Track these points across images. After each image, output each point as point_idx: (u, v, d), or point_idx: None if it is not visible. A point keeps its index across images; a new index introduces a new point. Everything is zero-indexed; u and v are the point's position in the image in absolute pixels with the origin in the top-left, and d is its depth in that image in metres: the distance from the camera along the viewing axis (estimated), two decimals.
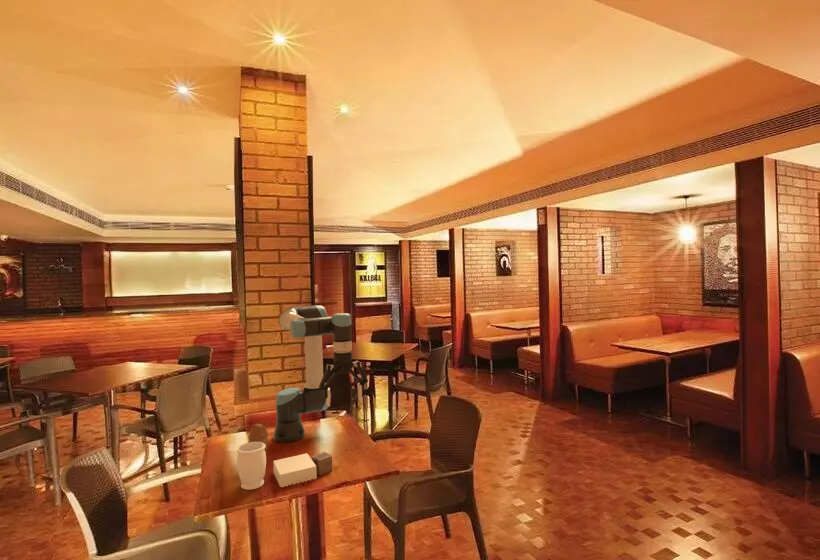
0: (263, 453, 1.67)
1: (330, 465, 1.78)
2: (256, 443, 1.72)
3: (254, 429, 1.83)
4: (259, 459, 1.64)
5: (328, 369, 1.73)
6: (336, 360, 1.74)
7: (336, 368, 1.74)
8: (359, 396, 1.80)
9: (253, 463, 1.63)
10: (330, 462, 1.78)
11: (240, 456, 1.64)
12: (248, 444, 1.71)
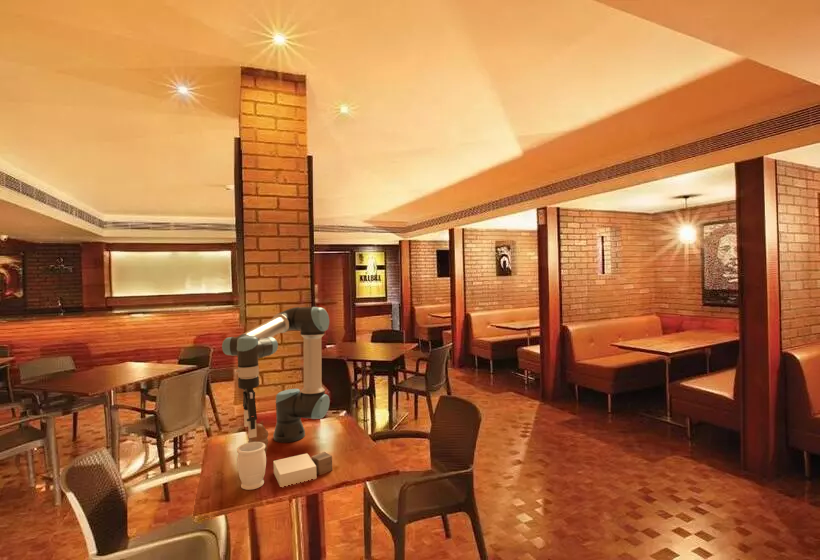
0: (263, 453, 1.67)
1: (330, 465, 1.78)
2: (256, 443, 1.72)
3: None
4: (259, 459, 1.64)
5: (243, 389, 1.72)
6: None
7: None
8: None
9: (253, 463, 1.63)
10: (330, 462, 1.78)
11: (240, 456, 1.64)
12: (248, 444, 1.71)
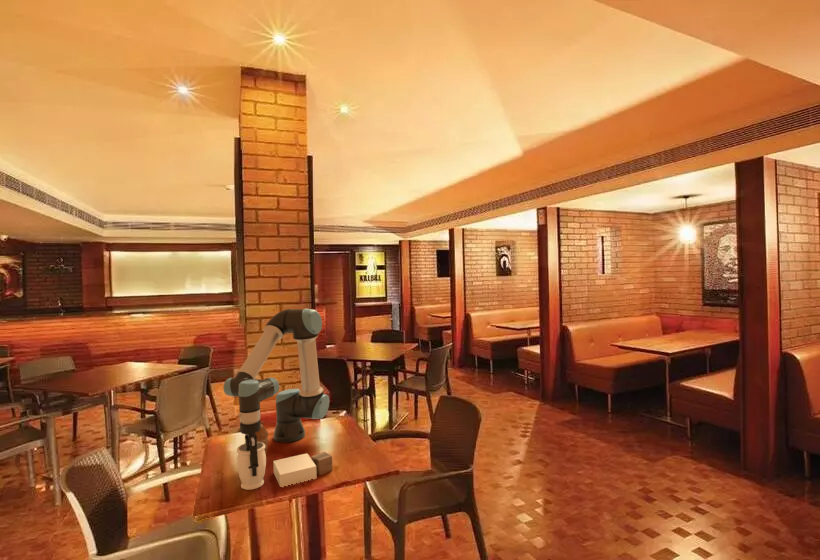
0: (263, 453, 1.67)
1: (330, 465, 1.78)
2: None
3: None
4: (259, 459, 1.64)
5: (245, 434, 1.72)
6: None
7: None
8: None
9: None
10: (330, 462, 1.78)
11: (240, 456, 1.64)
12: None
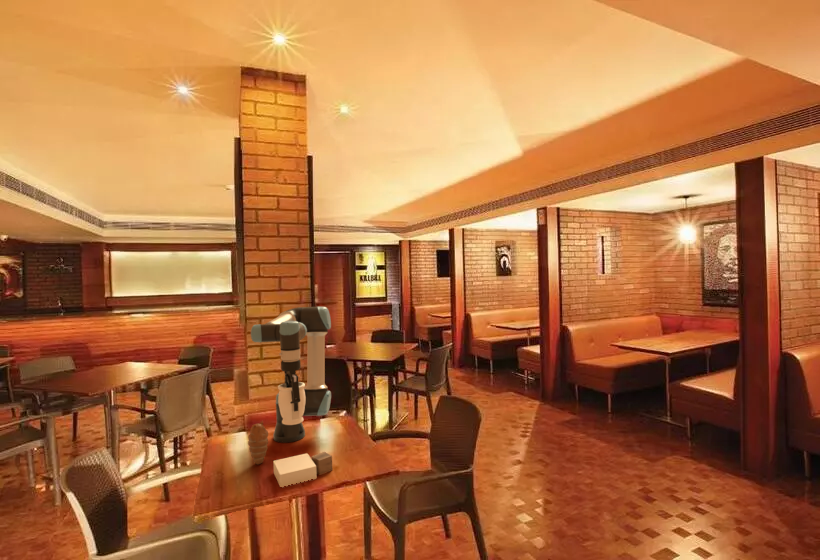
0: (303, 391, 1.73)
1: (330, 465, 1.78)
2: None
3: (254, 429, 1.83)
4: (300, 396, 1.70)
5: (285, 374, 1.78)
6: None
7: None
8: None
9: None
10: (330, 462, 1.78)
11: (281, 392, 1.70)
12: None
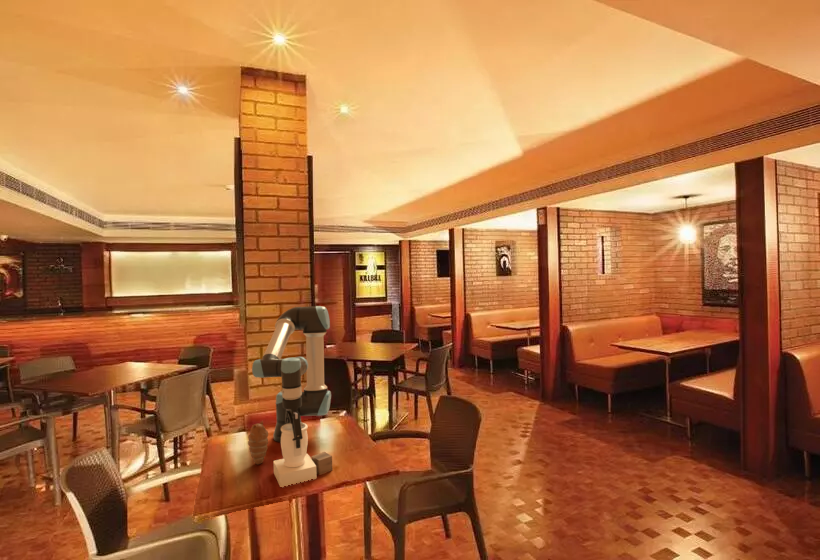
0: (305, 433, 1.73)
1: (330, 465, 1.78)
2: None
3: (254, 429, 1.83)
4: (303, 438, 1.71)
5: (286, 408, 1.79)
6: None
7: (288, 411, 1.76)
8: None
9: None
10: (330, 462, 1.78)
11: (284, 435, 1.70)
12: (290, 424, 1.78)
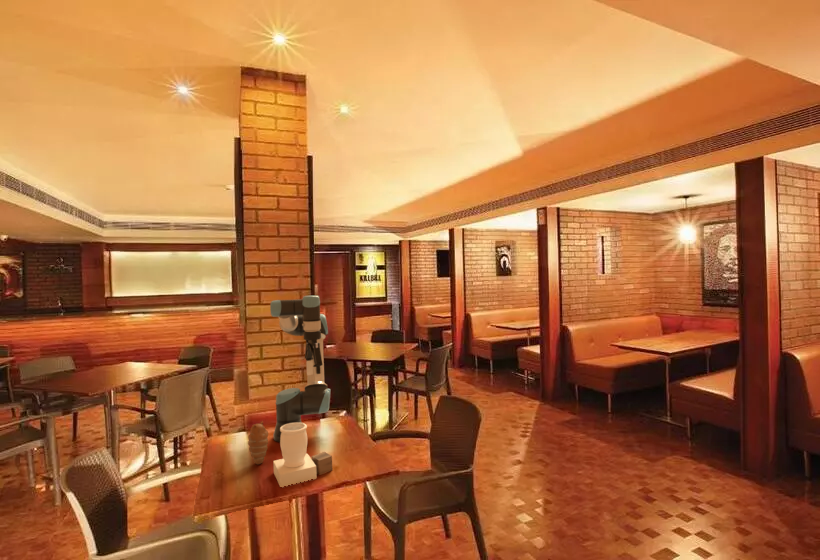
0: (305, 433, 1.73)
1: (330, 465, 1.78)
2: (297, 424, 1.78)
3: (254, 429, 1.83)
4: (302, 438, 1.71)
5: (306, 342, 1.97)
6: None
7: None
8: None
9: (297, 441, 1.69)
10: (330, 462, 1.78)
11: (284, 435, 1.70)
12: (289, 424, 1.78)
